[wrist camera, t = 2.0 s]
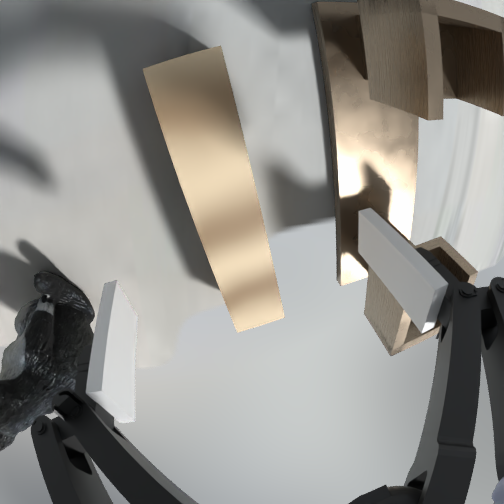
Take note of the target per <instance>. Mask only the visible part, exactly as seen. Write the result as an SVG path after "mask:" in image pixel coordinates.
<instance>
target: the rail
mask: <svg viewBox="0 0 504 504" xmlns="http://www.w3.org/2000/svg"><path fill="white" fill-rule="evenodd" d="M143 73H144V76H145V79H146V83H147V86H148V89H149V92H150V95H151V98H152V102H153V105H154V108H155V111H156V114H157V117H158V120H159V123H160V126H161V129H162V132H163V135H164V138H165V141H166V144H167V147H168V150H169V153H170V156H171V159H172V162H173V165H174V168H175V170H176V173H177V176H178V179H179V182H180V185H181V187H182V190H183V193H184V196H185V199H186V201H187V204H188V207H189V210H190V212H191V215H192V218H193V221H194V223H195V226H196V229H197V231H198V234H199V237H200V239H201V242H202V245H203V247H204V250H205V253H206V255H207V258H208V260H209V263H210V265H211V268H212V271H213V273H214V276H215V278H216V281H217V283H218V286H219V288H220V291H221V293H222V296H223V298H224V301H225V303H226V306H227V308H228V311H229V313H230V316H231V318H232V320H233V322H234V326H235V328H236V330H237V332H241V331H244V330H248V329H251V328H254V327H257V326H260V325H264V324H267V323H270V322H273V321H276V320H279V319H282V318H284V317H285V316H284V312H283V307H282V302H281V298H280V293H279V289H278V284H277V279H276V275H275V271H274V266H273V261H272V257H271V252H270V248H269V243H268V239H267V235H266V230H265V226H264V222H263V217H262V213H261V208H260V204H259V200H258V196H257V191H256V187H255V183H254V178H253V174H252V170H251V166H250V162H249V157H248V153H247V149H246V145H245V141H244V137H243V132H242V128H241V124H240V120H239V116H238V112H237V108H236V104H235V100H234V96H233V92H232V88H231V84H230V80H229V76H228V72H227V68H226V64H225V60H224V56H223V52H222V48H221V46H218V47H213V48H209V49H205V50H202V51H198V52H194V53H191V54H187V55H184V56H180V57H177V58H174V59H170V60H167V61H164V62H161V63H158V64H155V65H152V66H149V67H147V68H144V69H143Z"/></svg>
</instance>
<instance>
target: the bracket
mask: <svg viewBox="0 0 504 504" xmlns="http://www.w3.org/2000/svg"><path fill="white" fill-rule="evenodd" d="M311 5H312V10H313V15H314V21H315V26H316V32H317V38H318V44H319V50H320V57H321V63H322V70H323V78H324V85H325V93H326V101H327V110H328V119H329V129H330V140H331V151H332V164H333V179H334V196H335V218H336V254H337V281H338V283H339V284H340V286H343V285H346V284H348V283H351V282H354V281H357V280H360V279H363V278H365V277H368V282H367V293H366V302H365V310H364V314H365V316H366V318H367V319H368V321H369V322H370V324H371V325H372V327H373V328H374V330H375V332H376V333H377V335H378V337H379V338H380V339H381V341H382V343H383V345H384V346H385V348H386V350H387V351H388V353H389V355H390V356H393V355H395V354H397V353H399V352H401V351H403V350H405V349H407V348H410V347H411V346H414V345H416V344H418V343H420V342H422V341H424V340H425V339H428V338H430V337H431V336H434V335H435V334H437V333H438V332H439V329H440V326H441V323H440V321H439V320H438V319H437V321H436V323H435V326H434V328H432V329H430V330H428V331H426V332H424V333H421V332H420V331H419V329H418V328H417V327H416V325H415V324H414V322H413V321H412V320H411V318H410V317H409V316H408V314H407V313H406V312H405V310H404V309H403V308H402V306H401V305H400V304H399V302H398V301H397V300H396V299H395V297H394V296H393V295H392V293H391V292H390V291H389V290H388V288H387V287H386V286H385V284H384V283H383V282H382V281H381V279H380V278H379V277H378V276H377V274H376V273H375V272H374V271H373V269H372V268H371V267H370V266H369V265H368V263H367V262H366V261H365V260H364V258H363V257H362V256H361V255H360V254H359V252H358V234H359V211H360V210H364V209H368V208H371V209H373V210H374V211H375V212H376V213H377V214H378V215H379V216H380V217H381V218H382V219H384V220H385V221H386V222H387V223H388V224H389V225H390V226H391V227H392V228H393V229H394V230H395V231H397V232H398V233H399V234H400V235H401V236H402V237H403V238H404V239H405V240H406V241H407V242H408V243H409V244H410V245H411V246H412V247H413V248H414V249H416V248H419V247H422V248H424V249H426V250H428V251H430V252H431V253H432V254H433V255H434V256H435V257H436V259H438V260H439V261H440V262H441V264H443V265H444V266H445V267H446V268H447V269H448V270H449V271H450V272H451V273H452V274H453V275H454V276H455V277H456V278H457V279H458V280H459V281H460V282H468V283H471V284H472V285H473V284H474V282H475V279H476V276H477V273H478V271H477V270H476V269H475V268H474V267H473V266H472V265H471V264H469V263H468V262H467V261H466V260H465V259H464V258H463V257H462V256H461V255H460V254H459V253H458V252H457V251H456V250H455V249H454V248H453V247H452V246H451V245H450V244H449V243H447V242H446V241H445V240H444V239H443V238H442V237H438V238H435V239H433V240H430V241H427V242H425V243H422V244H419V245H416V246H415V245H414V244H413V243H412V242H411V241H410V234H411V226H412V218H413V210H414V200H415V189H416V176H417V159H418V117H421V118H424V119H426V120H439V119H443V99H452V98H457V99H459V100H462V101H465V102H468V103H471V104H474V105H476V106H479V107H482V108H484V109H487V110H489V111H492V112H494V113H497V114H499V115H501V116H504V18H503V17H501V16H498V15H496V14H493V13H490V12H488V11H485V10H482V9H479V8H476V7H474V6H471V5H467V4H464V3H461V2H458V1H454V0H357V3H353V2H315V3H312V4H311Z"/></svg>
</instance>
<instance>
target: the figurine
mask: <svg viewBox="0 0 504 504" xmlns="http://www.w3.org/2000/svg"><path fill="white" fill-rule="evenodd" d="M34 277H35V278H34V285H35V288H36V290H37V291H38V292H41V293H42V296H41V298H40V299H37V300H34V301H31V302H30V303H28V304H27V305H25V306H24V307H22V308H21V310H20V311H19V313H18V315H17V316H16V318H15V330H16V331H17V333H18V336H17V339H16V340H15V341H14V342H12V343H11V344H10V345H9V346H8V347H7V348H6V349H5V350H4V353H3V359H2V370H1V373H0V451H1V450H3V449H5V448H6V447H7V446H9V445H11V444H12V442H13V441H14V439H15V436H16V435H17V434H18V433H19V432H21V431H24V430H26V429H27V428H28V427H30V426H31V425H32V423H33V421H34V420H35V419H36V418H37V417H38V416H41V415H46V414H50V413H53V410H52V407H51V406H52V400H53V397H54V396H55V394H56V393H57V392H58V391H60V390H61V389H64V388H69V389H71V390H72V391H75V384H76V377H77V373H78V372H77V370H78V366H79V359H80V354H81V352H82V351H83V349H84V347H85V346H87V345H91V344H93V338H94V333H93V332H92V329H91V327H90V323H91V322H92V321H93V319H94V317H95V313H94V310H93V307H92V305H91V303H90V301H89V299H88V298H87V297H86V296H85V295H84V294H83V293H82V292H81V291H80V290H79V289H78V288H76V287H74V286H72V285H71V284H69V283H68V282H67V281H65V280H64V279H63V278H62V277H60V276H57V275H53V274H51V273H49V272H46V271H43V272H39V273H37V274H36V275H34Z"/></svg>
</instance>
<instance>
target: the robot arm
mask: <svg viewBox="0 0 504 504" xmlns="http://www.w3.org/2000/svg"><path fill="white" fill-rule="evenodd" d="M358 252H359V254H360V255H361V256H362V257H363V258H364V260H365V261H366V262H367V263H368V265H369V266H370V267H371V268H372V269H373V271H374V272H375V273H376V274H377V276H378V277H379V278H380V279H381V281H382V282H383V283H384V284H385V286H386V287H387V288H388V290H389V291H390V292H391V293H392V295H393V296H394V297H395V299H396V300H397V301H398V302H399V304H400V305H401V306H402V308H403V309H404V310H405V312H406V313H407V314H408V316H409V317H410V318H411V320H412V321H413V322H414V324H415V325H416V327H417V328H418V329H419V331H420V332H421V333H424V332H426V331H428V330H430V329H432V328H434V326H435V323H436V321H437V319H438V320H439V321H440V323H441V326H440V329H439V332H438V334H437V337H436V339H438V338H439V342H438V351H437V359H436V366H435V373H434V379H433V385H432V390H431V396H430V401H429V406H428V411H427V415H426V420H425V424H424V428H423V432H422V436H421V441H420V444H419V448H418V451H417V455H416V458H415V461H414V463H413V465H412V467H411V469H410V471H409V473H408V476H407V478H406V481H405V484H404V486H393V487H387V486H386V485H384V486H382V487H380V488H377V489H375V490H373V491H371V492H368V493H366V494H364V495H361V496H359V497H358V498H356V499H355V500H353V501H352V502H350V503H349V504H464V503H465V500H466V496H467V493H468V489H469V485H470V481H471V477H472V473H473V468H474V464H475V459H476V448H475V447H474V446H473V436H474V430H475V423H476V416H477V408H478V398H479V386H480V371H481V353H482V357H483V362H484V367H485V372H486V378H487V384H488V390H489V396H490V404H491V411H492V420H493V430H494V443H495V460H496V469H497V476H498V480H499V482H498V484H497V485H496V488H495V490H494V491H493V493H492V499H493V500H494V504H504V278H501V277H496V278H493V279H492V280H491V283H490V286H488V287H481V288H476V287H475V286H474V285H472V284H471V283H468V282H460V281H459V280H458V279H457V278H456V277H455V276H454V275H453V274H452V273H451V272H450V271H449V270H448V269H447V268H446V267H445V266H444V265H443V264H441V262H440V261H439V260H438V259H436V257H435V256H434V255H433V254H432V253H431V252H430V251H428V250H426V249H424V248H422V247H419V248H416V249H414V248H413V247H412V246H411V245H410V244H409V243H408V242H407V241H406V240H405V239H404V238H403V237H402V236H401V235H400V234H399V233H398V232H397V231H395V230H394V229H393V228H392V227H391V226H390V225H389V224H388V223H387V222H386V221H385V220H384V219H382V218H381V217H380V216H379V215H378V214H377V213H376V212H375V211H374V210H373V209H371V208H368V209H364V210H360V211H359V234H358ZM137 326H138V315H137V313H136V312H135V310H134V308H133V307H132V305H131V303H130V302H129V300H128V298H127V297H126V295H125V293H124V291H123V290H122V288H121V286H120V284H119V283H118V281H117V280H115V281H112V282H108V283H105V284H104V288H103V293H102V297H101V302H100V307H99V311H98V316H97V322H96V327H95V332H94V338H93V344H91V345H87V346H85V347H84V349H83V351H82V352H81V354H80V359H79V366H78V370H77V372H78V373H77V377H76V384H75V391H72V390H71V389H69V388H64V389H61V390H60V391H58V392H57V393H56V394H55V396H54V397H53V400H52V406H51V407H52V410H53V412H54V413H56V414H57V415H58V417H56V418H54V419H52V420H51V419H49V418H48V417H47V416H44V415H41V416H38V417H37V418H36V419H35V420H34V421H33V423H32V426H31V435H32V439H33V443H34V447H35V451H36V454H37V458H38V461H39V465H40V468H41V471H42V474H43V477H44V480H45V483H46V486H47V489H48V491H49V494H50V496H51V499H52V502H53V504H113V502H112V501H111V499H110V497H109V495H108V493H107V491H106V490H105V488H104V485H103V484H102V481H101V479H100V477H99V475H98V473H97V471H96V469H95V467H94V465H93V462H92V460H91V458H92V459H93V461H94V462H95V463H96V465H97V466H98V467H99V468H100V469H101V471H102V472H103V473H104V474H105V476H106V477H107V478H108V479H109V480H110V482H111V483H112V484H113V485H114V486H115V487H116V488H117V490H118V491H119V492H120V493H121V494H122V495H123V496H124V497H125V498H126V500H127V501H128V502H129V503H130V504H198V503H197V502H196V501H194V500H193V499H192V498H190V497H189V496H188V495H187V494H186V493H184V492H183V491H182V490H181V489H180V488H178V487H177V486H176V485H175V484H174V483H173V482H172V481H170V480H169V479H168V478H167V477H166V476H165V475H163V473H161V472H160V471H159V470H158V469H157V468H156V467H155V466H154V465H153V464H152V463H151V462H150V461H149V460H148V459H147V458H145V456H144V455H142V454H141V453H140V452H139V451H138V449H136V447H135V446H133V444H132V443H131V442H130V441H129V440H128V439H127V438H126V437H125V436H124V435H123V434H122V433H121V432H120V431H119V429H118V428H117V427H115V426H114V418H115V419H116V420H117V421H118V422H120V423H127V422H134V421H135V371H136V344H137ZM90 457H91V458H90Z"/></svg>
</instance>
